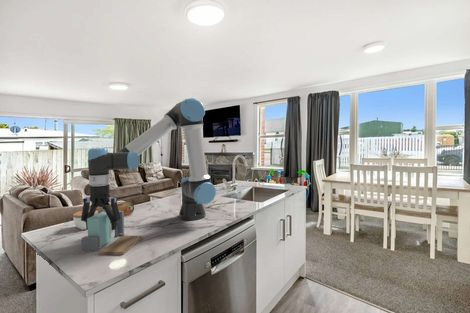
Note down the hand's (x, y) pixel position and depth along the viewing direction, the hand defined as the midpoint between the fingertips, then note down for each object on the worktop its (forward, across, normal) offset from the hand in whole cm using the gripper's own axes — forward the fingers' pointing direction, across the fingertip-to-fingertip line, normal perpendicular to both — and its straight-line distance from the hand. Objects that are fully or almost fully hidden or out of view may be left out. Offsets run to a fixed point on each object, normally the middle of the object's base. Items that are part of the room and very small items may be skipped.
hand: (101, 236), depth 102 cm
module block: (+2, 0, 0) cm, 2 cm away
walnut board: (+2, +11, -3) cm, 12 cm away
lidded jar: (+3, -20, +18) cm, 27 cm away
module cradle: (+2, 0, 0) cm, 2 cm away
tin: (+3, -12, +36) cm, 38 cm away
